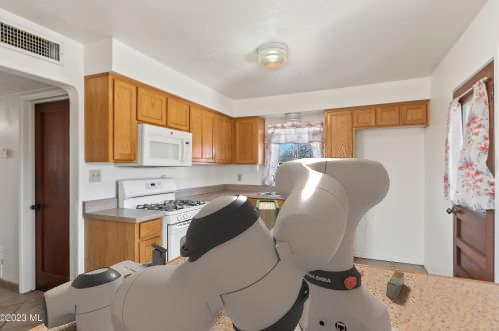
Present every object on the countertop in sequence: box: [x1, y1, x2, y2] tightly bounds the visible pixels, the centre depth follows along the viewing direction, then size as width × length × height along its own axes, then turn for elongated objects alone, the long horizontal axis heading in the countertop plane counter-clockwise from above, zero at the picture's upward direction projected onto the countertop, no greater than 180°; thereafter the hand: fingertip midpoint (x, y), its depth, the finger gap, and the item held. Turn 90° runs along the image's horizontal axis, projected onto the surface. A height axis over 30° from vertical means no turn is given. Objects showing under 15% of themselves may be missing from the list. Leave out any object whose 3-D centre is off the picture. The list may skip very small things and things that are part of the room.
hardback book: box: [255, 199, 280, 231], centre depth 93 cm, size 18×7×24 cm, turn 177°
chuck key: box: [151, 242, 168, 266], centre depth 80 cm, size 8×4×13 cm, turn 45°
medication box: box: [385, 270, 405, 300], centre depth 80 cm, size 12×3×4 cm, turn 141°
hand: (161, 267), depth 81 cm, fingers open, 6 cm apart
